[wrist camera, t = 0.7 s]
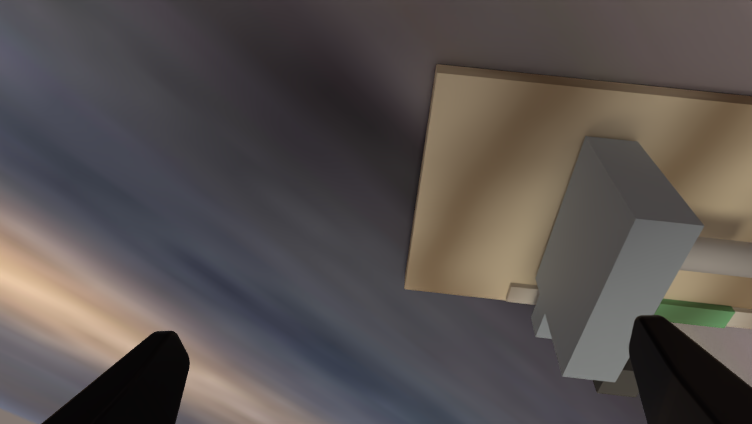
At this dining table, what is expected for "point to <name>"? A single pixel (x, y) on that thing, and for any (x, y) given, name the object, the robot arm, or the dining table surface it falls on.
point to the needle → (620, 383)
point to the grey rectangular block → (618, 256)
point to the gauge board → (553, 173)
